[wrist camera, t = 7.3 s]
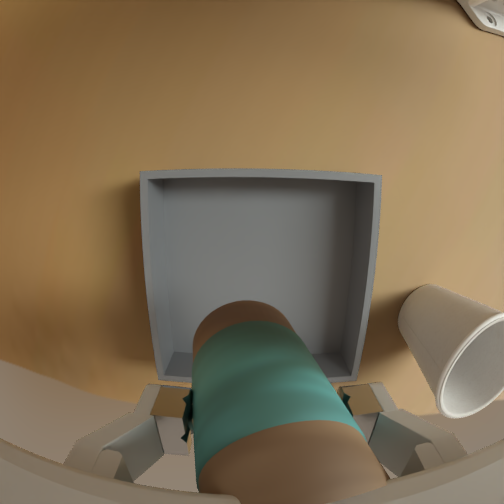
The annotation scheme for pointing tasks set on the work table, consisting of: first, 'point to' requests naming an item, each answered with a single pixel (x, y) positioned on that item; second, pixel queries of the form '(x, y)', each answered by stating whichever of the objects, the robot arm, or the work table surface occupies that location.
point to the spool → (271, 415)
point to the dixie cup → (455, 347)
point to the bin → (260, 256)
